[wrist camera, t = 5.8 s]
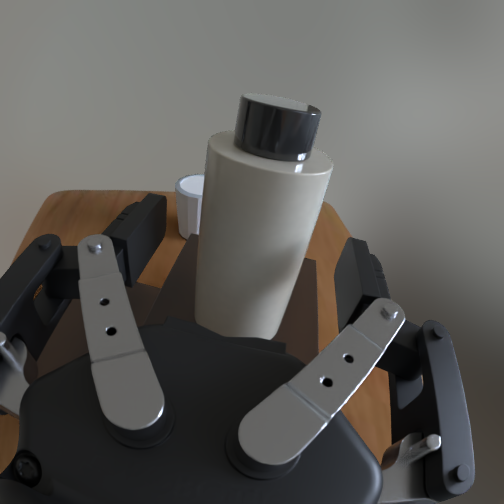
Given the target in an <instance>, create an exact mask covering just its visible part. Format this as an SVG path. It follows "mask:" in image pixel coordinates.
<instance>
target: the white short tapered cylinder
mask: <svg viewBox="0 0 504 504" xmlns="http://www.w3.org/2000/svg"><path fill="white" fill-rule="evenodd" d="M203 183H204V174H194V175H188V176H185V177H182V178H180V179H179V180H178V181H177V182H176V183H175V190H176V203H177V215H178V226H179V233H180V234H181V236H182V237H184V238H185V239H187V240H188V238H189V236H190V234H191V233H193V234H198V235H199V225H200V214H201V203H202V193H203Z"/></svg>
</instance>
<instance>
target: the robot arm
mask: <svg viewBox="0 0 504 504" xmlns="http://www.w3.org/2000/svg"><path fill="white" fill-rule="evenodd" d="M166 211H167V199H166V196H163V195H157V194H152V193H149V194H148V195H147V196H146V197H145V198H144V199H143V200H142V201H141V202H135V203H133V204H131V205H129V206H127V207H126V208H125V209H124V210H123V211H122V212H121V214H119V215H118V216H117V218H116V219H115V220H114V221H113V222H112V223H111V224H110V225H109V226H108V227H107V228H106V229H105V230H104V232H103V233H102V234H96V235H90V236H88V237H86V238H84V239H83V240H81V241H80V242H79V244H78V246H62V245H61V241H60V238H59V237H58V236H57V235H54V234H46V235H42V236H40V237H38V238H36V239H35V240H34V241H33V242H32V243H31V244H30V245H29V246H28V247H27V248H26V249H25V250H24V252H23V253H22V254H21V255H20V256H19V257H18V258H17V259H16V261H15V262H14V263H13V264H12V265H11V266H10V268H9V269H8V270H7V271H6V272H5V274H4V275H3V276H2V277H1V279H0V415H6V414H9V415H11V416H13V417H14V418H16V419H18V420H19V424H20V428H19V442H18V448H17V452H16V454H15V457H14V458H13V460H12V461H11V463H10V464H9V465H8V466H7V468H6V469H5V470H4V471H3V472H2V473H1V474H0V504H436V503H439V502H442V501H445V500H448V499H451V498H454V497H456V496H459V495H461V494H464V493H465V492H467V491H468V490H469V489H470V488H471V486H472V484H473V481H474V478H475V467H474V454H473V445H472V437H471V429H470V422H469V416H468V410H467V405H466V399H465V394H464V389H463V384H462V380H461V375H460V371H459V367H458V363H457V359H456V355H455V351H454V348H453V344H452V340H451V337H450V334H449V332H448V331H447V329H446V328H445V327H444V326H443V325H442V324H440V323H439V322H437V321H433V320H428V321H426V322H425V323H424V324H423V325H422V327H419V326H417V325H415V324H413V323H411V322H409V321H407V320H405V315H404V312H403V310H402V308H401V307H400V306H399V305H398V304H397V303H395V302H394V301H392V300H391V298H390V294H389V290H388V287H387V283H386V280H385V277H384V274H383V270H382V266H381V263H380V262H379V260H378V259H377V258H376V257H375V255H373V254H370V253H369V250H368V246H367V243H366V241H363V240H359V239H355V238H351V237H349V238H348V239H347V241H346V244H345V246H344V249H343V251H342V253H341V256H340V258H339V261H338V263H337V265H336V269H335V274H334V282H335V292H336V303H337V314H338V327H339V335H338V336H337V337H336V338H335V339H334V340H333V341H332V342H331V343H330V344H329V345H328V346H327V347H325V348H324V349H323V350H322V351H321V352H320V353H319V354H318V355H317V356H316V357H315V358H314V359H313V360H312V361H311V362H310V363H309V364H308V365H306V364H305V363H303V362H302V361H301V360H299V359H298V358H297V357H295V356H293V355H291V354H289V353H287V352H286V345H287V343H284V342H278V341H273V340H268V339H263V338H259V337H225V336H222V335H220V334H217V333H215V332H213V331H211V330H209V329H207V328H205V327H203V326H201V325H199V324H197V323H194V322H190V321H186V320H182V319H179V318H175V317H171V316H167V317H166V320H165V322H164V324H149V325H144V326H140V327H137V324H136V321H135V318H134V315H133V312H132V309H131V305H130V302H129V299H128V295H127V292H126V288H125V286H127V287H130V288H133V286H134V284H135V283H136V281H137V279H138V278H139V276H140V274H141V273H142V271H143V270H144V268H145V266H146V265H147V263H148V262H149V260H150V259H151V257H152V255H153V254H154V252H155V251H156V249H157V248H158V246H159V245H160V243H161V242H162V240H163V238H164V235H165V232H166ZM41 284H42V286H43V288H42V289H41V291H40V292H39V294H38V295H37V297H36V298H35V299H34V301H33V298H34V294H35V292H36V290H37V289H38V287H39V286H40V285H41ZM72 299H80V301H81V308H82V315H83V321H84V327H85V333H86V339H87V344H88V349H89V352H88V353H86V354H84V355H82V356H80V357H78V358H76V359H74V360H72V361H70V362H69V363H67V364H65V365H63V366H61V367H59V368H57V369H55V370H53V371H51V372H49V373H47V374H45V375H43V376H41V377H39V378H38V379H37V376H38V365H37V363H36V362H37V360H38V359H39V357H40V355H41V353H42V351H43V349H44V347H45V345H46V344H47V342H48V340H49V338H50V336H51V335H52V333H53V331H54V329H55V328H56V326H57V324H58V323H59V321H60V319H61V317H62V316H63V314H64V312H65V311H66V309H67V308H68V306H69V304H70V303H71V301H72ZM374 366H376V367H378V368H381V369H383V370H385V371H387V372H388V376H389V389H390V406H391V434H392V445H391V446H390V447H388V448H387V449H386V451H385V452H384V454H383V458H382V463H381V465H380V464H379V462H378V460H377V459H376V457H375V456H374V455H373V453H372V452H371V451H370V449H369V448H368V447H367V445H366V444H365V443H364V441H363V440H362V439H361V437H360V436H359V435H358V433H357V432H356V430H355V429H354V428H353V426H352V425H351V424H350V422H349V421H348V420H347V418H346V417H345V416H344V414H343V413H342V411H341V410H340V409H341V408H342V406H343V405H344V404H345V403H346V402H347V400H348V399H349V398H350V397H351V396H352V394H353V393H354V392H355V391H356V389H357V388H358V387H359V386H360V384H361V383H362V382H363V381H364V379H365V378H366V377H367V375H368V374H369V373H370V371H371V370H372V369H373V367H374ZM421 375H422V376H423V383H422V376H421Z"/></svg>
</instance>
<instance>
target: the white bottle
mask: <svg viewBox="0 0 504 504" xmlns="http://www.w3.org/2000/svg"><path fill="white" fill-rule="evenodd" d="M320 118H321V111H320V110H319V109H317V108H315V107H313V106H311V105H308V104H305V103H302V102H299V101H295V100H291V99H287V98H283V97H278V96H271V95H264V94H243V95H242V96H241V98H240V104H239V109H238V116H237V121H236V128H235V130H232V131H225V132H220V133H217V134H215V135H213V136H211V138H210V139H209V141H208V147H207V156H206V164H205V173H204V183H203V193H202V203H201V214H200V225H199V238H198V251H197V265H196V281H195V299H194V316H195V320H196V322H197V324H199V325H201V326H203V327H205V328H207V329H209V330H211V331H213V332H215V333H217V334H220V335H222V336H225V337H259V338H263V339H268V340H270V339H272V338H273V337H274V336H275V334H276V333H277V331H278V330H279V327H280V324H281V322H282V319H283V316H284V314H285V311H286V308H287V306H288V303H289V300H290V297H291V294H292V292H293V289H294V286H295V283H296V280H297V278H298V275H299V272H300V269H301V266H302V263H303V260H304V257H305V255H306V252H307V249H308V246H309V243H310V240H311V237H312V234H313V231H314V228H315V225H316V221H317V218H318V215H319V212H320V209H321V206H322V203H323V200H324V196H325V193H326V190H327V187H328V183H329V180H330V177H331V173H332V170H333V167H334V166H333V162H332V160H331V159H330V158H329V157H328V156H327V155H326V154H325V153H323V152H322V151H320V150H318V149H317V148H315V147H313V145H314V142H315V138H316V134H317V130H318V126H319V122H320Z"/></svg>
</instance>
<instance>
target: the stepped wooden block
mask: <svg viewBox="0 0 504 504" xmlns="http://www.w3.org/2000/svg"><path fill="white" fill-rule="evenodd" d="M198 238H199V235H198V234H193V233H191V234H190V236H189V238H188V240H187V241H186V243H185V245H184V247H183V249H182V251H181V252H180V254H179V256H178V258H177V260H176V262H175V264H174V265H173V267H172V269H171V271H170V273H169V275H168V277H167V279H166V281H165V282H164V284H163V286H162V288H157V287H153V286H149V285H146V284H142V283H138V282H136V283H135V284H134V286H133V288H130V287H127V286H125V288H126V292H127V295H128V299H129V302H130V305H131V309H132V312H133V315H134V318H135V321H136V324H137V327H140V326H144V325H149V324H164V322H165V320H166V317H167V316H171V317H175V318H179V319H182V320H186V321H190V322H194V323H197V322H196V320H195V316H194V299H195V281H196V265H197V251H198ZM270 340H273V341H278V342H284V343H287V345H286V352H287V353H289V354H291V355H293V356H295V357H297V358H298V359H299V360H301V361H302V362H303V363H305V364H306V365H308V364H309V363H310V362H311V361H312V360H313V359H314V358H315V357H316V356H317V355H318V354H319V346H318V297H317V272H316V260H312V259H307V258H304V260H303V263H302V266H301V269H300V272H299V275H298V278H297V280H296V283H295V286H294V289H293V292H292V294H291V297H290V300H289V303H288V306H287V308H286V311H285V314H284V316H283V319H282V322H281V324H280V327H279V330H278V331H277V333H276V334H275V336H274V337H273V338H272V339H270ZM88 352H89V349H88V344H87V339H86V333H85V327H84V321H83V315H82V308H81V301H80V299H72V301H71V303H70V304H69V306H68V308H67V309H66V311H65V312H64V314H63V316H62V317H61V319H60V321H59V323H58V324H57V326H56V328H55V329H54V331H53V333H52V335H51V336H50V338H49V340H48V342H47V344H46V345H45V347H44V349H43V351H42V353H41V355H40V357H39V359H38V360H37V362H36V363H37V365H38V376H37V379H38V378H39V377H41V376H43V375H45V374H47V373H49V372H51V371H53V370H55V369H57V368H59V367H61V366H63V365H65V364H67V363H69V362H70V361H72V360H74V359H76V358H78V357H80V356H82V355H84V354H86V353H88Z"/></svg>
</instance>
